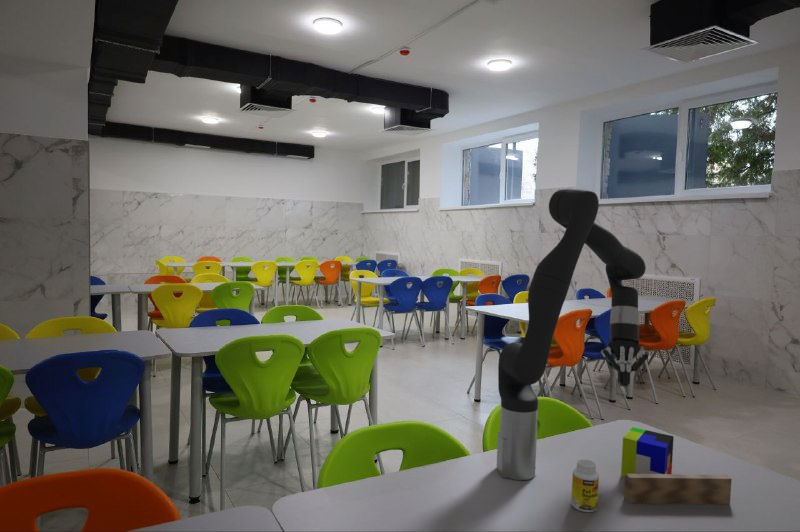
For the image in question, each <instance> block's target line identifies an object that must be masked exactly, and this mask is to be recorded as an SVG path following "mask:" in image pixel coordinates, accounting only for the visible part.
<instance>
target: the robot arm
mask: <svg viewBox="0 0 800 532" xmlns="http://www.w3.org/2000/svg"><path fill="white" fill-rule="evenodd" d="M599 202H600V201H599V197H598V195H597V194H596V192H595V191H593V190H589V189H572V188H563V189H558V190H556V191H555V192H554V193H552V195H551V197H550V198H549V202H548V211H549V215H550V217H551V218H552V219H553V220H554V221H555V222H556V223H557V224H559V225H560V226H561V227H562V228H565V231H564V234H563V235H562V237H561V239H560V241H559V242H558V243H557V244H556V246H555V247H554V248H552V250H551V251H549V253H547V255H545V257H544V258H543V259H542V260H541V261H540V262H539V263H538V265H537V266H536V268H535V271H534V273H533V277H532V278H531V282H530V284H529V288H528V293H527V308H528V325H527V329H526V333H525V335H524V338H523V341H522V343H521V342H511V343H507V345H505V346H504V347H503V348H502V350H501V351H500V353H499V354H500V355H499V358H498V370H497V371H498V373H497V375H498V376H497V377H498V379H497V381H498V382H497V383H498V385H497V386H498V393H499V394H498V395H499V397H500V425H499V427H500V428H499V431H497V445H496V446H497V448H496V468H497V471H498V473H499V474H500V477H501V478H507V479H511V480H515V481H528V480H531V479H533V478H534V477H536V468H537V467H536V462H537V461H536V460H537V459H536V458H537V441H538V440H537V439H538V438H537V437H538V436H537V435H538V415H539V414H538V413H539V399H538V396H537V394H536V393H535V392H534V390H533V388H532V385H534V384H536V383H537V382H539V381H540V380H541V378H542V377H543V376H544V374H545V371H546V368H547V366H548V365H547V364H548V360H549V356H550V351H551V348H552V347H551V346H552V343H553V338H554V334H555V330H556V327H557V324H558V321H559V318H560V315H561V312H562V308H563V307H564V303H565V300H566V299H567V295H568V292H569V289H570V286H571V283H572V280H573V279H572V278H573V276H574V273H575V270H576V267H577V264H578V260H579V259H580V255H581V253H582V250H583V248H584V246H585V245H586V246H587V247H588V248H589V249H591V251H592V252H593V253H594V254H595V255H596V257H598V258H599V259H600V260H601V262H603V264H605V273H606V276H607V280H608V284H609V289H610V293H611V304H610V305H611V308H610V309H611V310H610V316H609V317H610V318H609V342H608V345H607V347H605V348H604V349H602V350H600V355H601V356H602V357H603V359H604V360H605V361H606V363H607V365H608V366H609V368H610V369H612V370H615V371H616V372H617V384H619V386H620V387H628V385H630V383H631V373H632V372H636V371H638V370H639V369H640V367H641V366H642V365H643V364H644V363H645V362H646V360H647V359H648V358H649V355H648V354H647V353H644V351H642V350H641V346H640V343H639V341H640V316H639V314H640V313H639V292H638V289H636V288H635V287H631V286H627V285H624V284H623V283H622V281H630V280H638V279H640V278H642V277H643V276H644V274H645V273H646V269H647V268H646V263H645V260H644V259H643V258H642V256H641V255H639V254H638V253H637V252H636V251H634V250H632V249H630V248H629V247H627V246H625V245H624V244H622V242H621V241H620V240H619V239H618V238H617V236H616V235H614V234H613V233H612V232H611V231H610V230H608V229H606V227H604V226H602V225H600V224H598V223H597V222H595V221H596V218H597V215H598V211H599V207H600V206H599V204H600V203H599ZM612 355H613V356H612ZM613 357H614V358H615V359H614V358H613ZM635 357H636V360H634V359H635ZM633 361H634V362H633Z"/></svg>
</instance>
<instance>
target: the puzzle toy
mask: <svg viewBox="0 0 800 532" xmlns="http://www.w3.org/2000/svg"><path fill="white" fill-rule="evenodd" d="M621 453H622V454H621V470H620V472H621V473H620V476H622V477H625V474H672V473H673V472H672V471H673V470H672V468H673V455H674V454H673V453H674V435H669V434H666V433H661V432H656V431H652V430H647V429H642V428H639V427H631V428H630V429H629V430H628V432H627V433H626V434H625V435H624V436H623V438H622V449H621Z"/></svg>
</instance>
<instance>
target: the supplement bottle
mask: <svg viewBox="0 0 800 532" xmlns="http://www.w3.org/2000/svg"><path fill="white" fill-rule="evenodd" d="M596 470H597V467H596V463H595V462H594V461H592V460H589V459H583V458H582V459H578V460H577V461H576V467H575V468H574V469H573V470H572V485H571V498H570V500H571V501H570V502H571V506H572V507H573V508H574V509H576V510H577V511H580V512H583V513H593V512H595V511H596V510H597V508H598V498H599V479H600V474H599V472H598V471H596Z"/></svg>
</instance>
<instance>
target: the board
mask: <svg viewBox="0 0 800 532" xmlns="http://www.w3.org/2000/svg"><path fill="white" fill-rule="evenodd" d="M731 492H732V478H731V477H730V476H729V475H727V474H691V473H690V474H687V473H685V474H683V473H682V474H680V473H678V474H675V473H673V474H625V476H624V492H623V493H624V494H623V500H625V502H626V503H628V504H670V505H671V504H673V505H674V504H681V505H682V504H684V505H685V504H687V505H688V504H689V505H691V504H692V505H697V504H698V505H730V504H731V496H732V495H731Z"/></svg>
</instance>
